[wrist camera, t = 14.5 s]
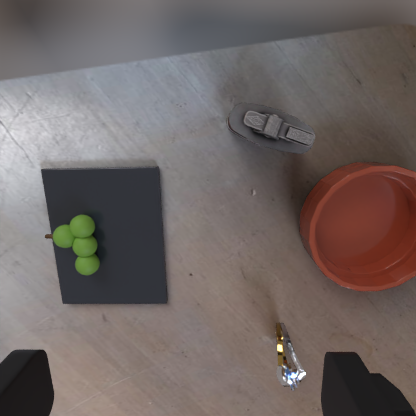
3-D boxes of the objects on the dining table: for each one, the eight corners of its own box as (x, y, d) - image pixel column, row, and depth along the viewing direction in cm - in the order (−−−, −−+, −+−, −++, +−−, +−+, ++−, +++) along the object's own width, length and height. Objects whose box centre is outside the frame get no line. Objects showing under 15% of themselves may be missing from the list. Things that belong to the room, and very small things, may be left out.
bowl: (301, 162, 34) (314, 167, 30) (426, 160, 34) (456, 164, 30) (295, 273, 38) (305, 291, 34) (408, 272, 37) (433, 291, 33)
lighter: (222, 132, 34) (224, 131, 24) (232, 102, 33) (238, 90, 23) (287, 155, 34) (314, 164, 25) (299, 126, 33) (332, 124, 24)
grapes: (97, 211, 36) (48, 212, 36) (87, 218, 33) (34, 219, 33) (104, 268, 38) (57, 269, 38) (95, 279, 35) (45, 279, 35)
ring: (290, 353, 41) (307, 405, 33) (267, 354, 41) (278, 406, 33) (289, 309, 39) (307, 353, 32) (265, 310, 39) (277, 354, 32)
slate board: (44, 168, 36) (40, 169, 35) (159, 166, 35) (157, 167, 34) (65, 300, 40) (62, 303, 39) (167, 300, 40) (166, 303, 39)
